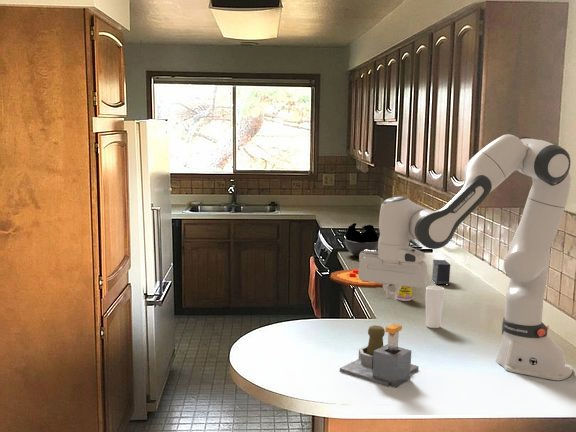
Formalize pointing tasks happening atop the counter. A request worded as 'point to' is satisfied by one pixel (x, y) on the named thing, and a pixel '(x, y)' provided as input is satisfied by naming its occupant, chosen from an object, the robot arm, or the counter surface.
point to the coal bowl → (361, 239)
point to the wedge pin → (393, 337)
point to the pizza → (352, 279)
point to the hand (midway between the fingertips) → (391, 298)
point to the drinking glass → (434, 305)
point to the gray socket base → (382, 366)
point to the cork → (375, 338)
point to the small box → (441, 272)
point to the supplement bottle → (405, 293)
